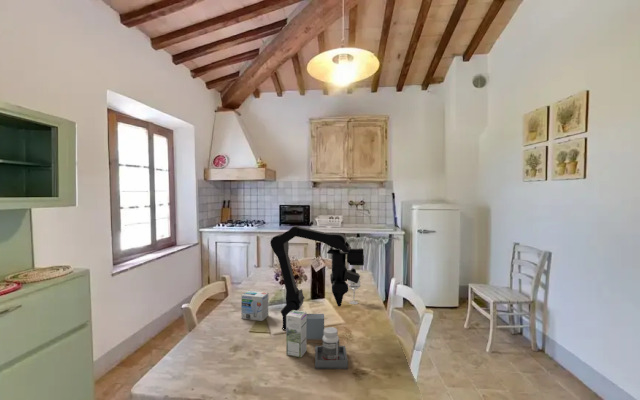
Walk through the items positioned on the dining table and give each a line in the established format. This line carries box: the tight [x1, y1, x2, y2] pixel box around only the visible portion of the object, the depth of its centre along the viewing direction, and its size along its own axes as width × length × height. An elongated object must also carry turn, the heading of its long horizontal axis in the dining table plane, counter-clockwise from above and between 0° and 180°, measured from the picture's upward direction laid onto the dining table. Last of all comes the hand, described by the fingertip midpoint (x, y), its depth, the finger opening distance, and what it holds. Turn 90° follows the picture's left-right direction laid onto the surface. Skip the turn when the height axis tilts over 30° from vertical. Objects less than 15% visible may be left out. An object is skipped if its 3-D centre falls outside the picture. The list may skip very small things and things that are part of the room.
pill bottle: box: [321, 326, 340, 360], centre depth 113 cm, size 6×6×10 cm
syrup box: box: [285, 310, 308, 358], centre depth 117 cm, size 6×6×14 cm
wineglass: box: [346, 278, 362, 305], centre depth 170 cm, size 7×7×12 cm
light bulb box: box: [240, 290, 269, 322], centre depth 150 cm, size 11×7×11 cm, turn 74°
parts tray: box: [314, 345, 349, 370], centre depth 113 cm, size 11×11×2 cm
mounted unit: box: [306, 313, 325, 344], centre depth 129 cm, size 11×7×9 cm, turn 90°
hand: (338, 302), depth 135 cm, fingers open, 9 cm apart
